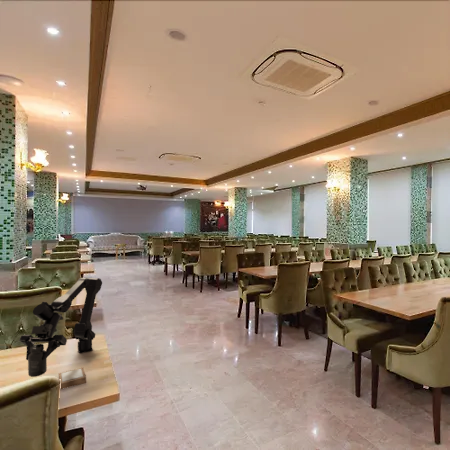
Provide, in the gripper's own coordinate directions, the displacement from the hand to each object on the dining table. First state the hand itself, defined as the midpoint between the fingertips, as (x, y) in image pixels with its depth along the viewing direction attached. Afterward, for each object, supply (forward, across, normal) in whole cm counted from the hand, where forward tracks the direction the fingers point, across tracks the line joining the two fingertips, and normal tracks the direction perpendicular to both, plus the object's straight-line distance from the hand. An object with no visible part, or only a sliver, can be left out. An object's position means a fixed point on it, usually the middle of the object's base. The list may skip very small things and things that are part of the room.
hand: (35, 359), depth 126 cm
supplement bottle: (+4, 0, +6) cm, 7 cm away
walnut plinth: (+6, +14, +10) cm, 18 cm away
